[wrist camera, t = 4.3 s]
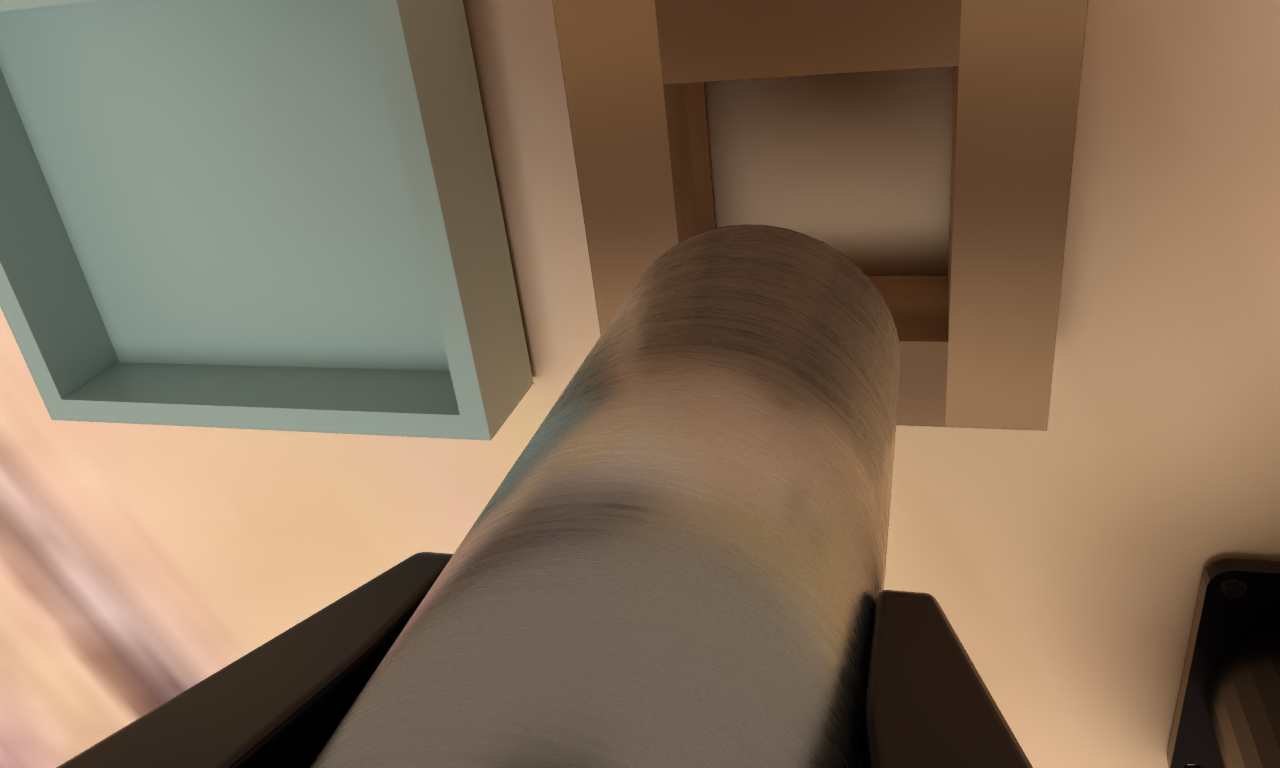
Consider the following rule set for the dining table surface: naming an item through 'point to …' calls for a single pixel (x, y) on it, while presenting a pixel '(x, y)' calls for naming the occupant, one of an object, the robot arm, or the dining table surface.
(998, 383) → the socket block
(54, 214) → the tray
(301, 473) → the dining table surface
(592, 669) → the pin
